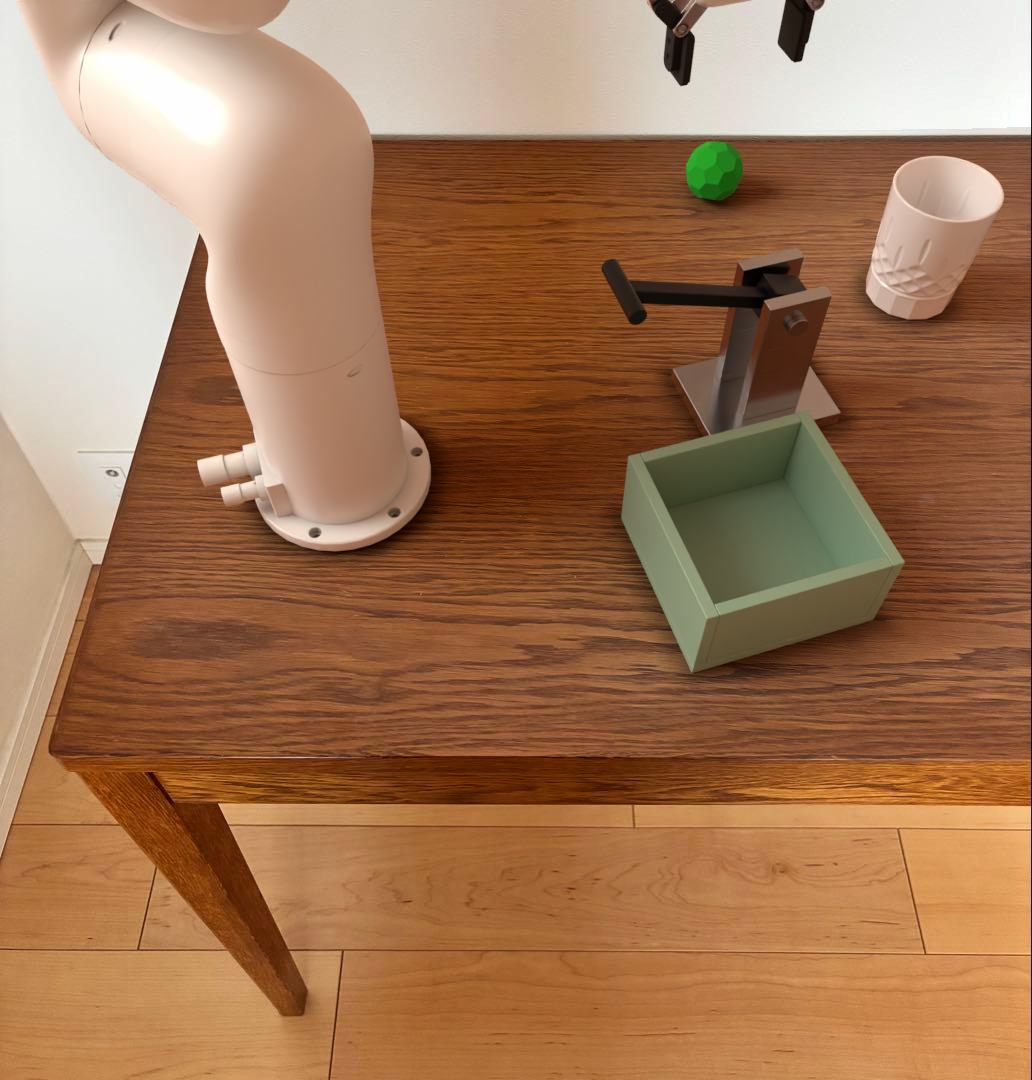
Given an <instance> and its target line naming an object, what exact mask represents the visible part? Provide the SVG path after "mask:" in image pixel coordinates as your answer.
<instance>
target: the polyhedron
mask: <svg viewBox="0 0 1032 1080" xmlns="http://www.w3.org/2000/svg"><path fill="white" fill-rule="evenodd" d="M685 174H686V181H687V186H688V189H689V191H690V192H691V193H692V194H694V196H696V198H698V199H702V200H704V199H705V200H711V201H723V200H725V199H726V198H728V197H730V196H732V195H733V194H734V192H735V191H736V190H737V188H738V187H739V185H740V183H741V180H742V179H743V175H744V166H743V159H742V155H741V153H740V152H739V150H737V149H736V148H735V146H734V145H733V144H731V143H729V142H723V141H714V140H712V141H709V140H708V141H705V142H704V143H702V144H701V145H698V146H697V147H696V148H695V149H694V150H693V151H692V153H691V154H690V157H689V158H688V161H687V163H686V165H685Z"/></svg>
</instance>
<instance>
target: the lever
mask: <svg viewBox="0 0 1032 1080" xmlns="http://www.w3.org/2000/svg"><path fill="white" fill-rule="evenodd" d="M600 270H601V273H602V275H603V276H604V278H605V280H606V281H607V284H608V285H609V288H610V290H611V291H612V293H613V295H614V297H615V298H616V300H617V303H618V304H619V306H620V308H621V310H622V311H623V314H624V315H625V318H626V319H627V321H628V323H629V324H630V325H632V326H638V325H642V324H643V323H644V322H645V321H646V319H648V311H647V310H646V308H645V307H644V305H664V306H683V307H684V306H686V307H688V306H689V307H709V308H710V307H713V308H728V307H730V308H752V309H753V311H754V312H755V314H756V316H757V317H758V319H760V315H761V311H762V306H763V302H764V300H767V299H772V298H776V297H780V296H784V295H789V294H793V293H797V292H801V291H806V290H808V289H807V288H806V286H805V285H804V283H803V282H802V280H801V279H800V277H798V276H796V275H782V274H766V273H764V274H763V275H762V277H761V279H760V281H759V282H758V284H757V286H756V287H749V286H733V285H729V284H728V285H727V284H709V283H693V282H692V283H691V282H690V283H689V282H676V281H675V282H674V281H673V282H672V281H653V280H635V279H629V278H628V276H627V274H626V272H625V270H624V269H623V267H622V265H621V263H620V262H619V260H618V259H616V258H609V259H607V260H605V261H604V262H603V263H602V265H601V268H600Z"/></svg>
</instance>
